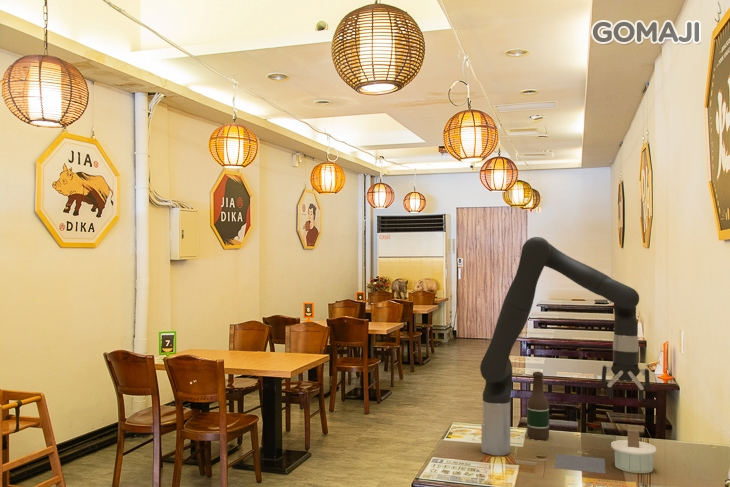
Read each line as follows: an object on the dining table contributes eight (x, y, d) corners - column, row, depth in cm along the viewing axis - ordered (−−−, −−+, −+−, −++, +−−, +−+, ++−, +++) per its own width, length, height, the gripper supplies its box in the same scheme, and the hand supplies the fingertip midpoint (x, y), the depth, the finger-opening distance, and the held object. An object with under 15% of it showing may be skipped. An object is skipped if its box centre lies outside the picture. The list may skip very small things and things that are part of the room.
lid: (611, 452, 194) (611, 433, 194) (610, 441, 206) (610, 422, 206) (658, 457, 189) (657, 437, 189) (654, 445, 201) (654, 426, 202)
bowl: (615, 471, 194) (615, 452, 194) (614, 461, 205) (614, 442, 205) (654, 476, 190) (654, 456, 191) (651, 464, 201) (651, 446, 201)
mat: (554, 469, 197) (554, 467, 197) (556, 454, 211) (556, 453, 211) (605, 474, 191) (605, 473, 191) (604, 459, 206) (604, 458, 206)
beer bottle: (550, 441, 226) (549, 374, 227) (527, 440, 228) (527, 373, 228) (548, 435, 234) (548, 370, 234) (526, 434, 235) (526, 370, 236)
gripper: (601, 349, 200) (601, 400, 200) (650, 352, 195) (650, 404, 195) (601, 346, 207) (601, 395, 207) (649, 349, 202) (648, 399, 202)
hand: (625, 399), depth 201 cm, fingers open, 8 cm apart
